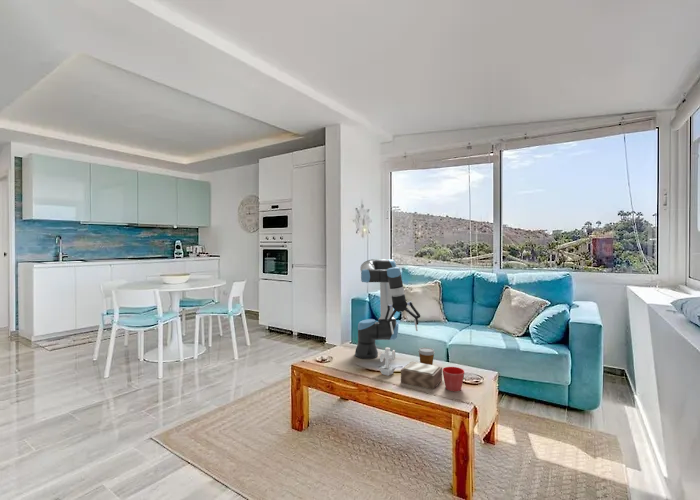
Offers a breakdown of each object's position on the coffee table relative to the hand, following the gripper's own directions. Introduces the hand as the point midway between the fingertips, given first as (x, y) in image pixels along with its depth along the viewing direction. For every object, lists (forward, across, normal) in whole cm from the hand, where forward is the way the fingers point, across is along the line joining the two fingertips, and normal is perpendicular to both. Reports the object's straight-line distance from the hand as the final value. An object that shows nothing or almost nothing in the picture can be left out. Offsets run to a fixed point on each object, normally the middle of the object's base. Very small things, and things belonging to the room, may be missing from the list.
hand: (404, 332), depth 208 cm
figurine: (+23, -14, 0) cm, 27 cm away
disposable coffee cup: (+28, +7, +12) cm, 31 cm away
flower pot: (+29, +21, -14) cm, 38 cm away
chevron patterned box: (+26, +5, -7) cm, 27 cm away
